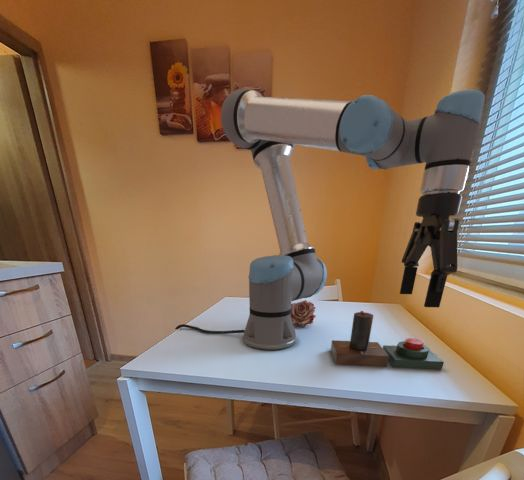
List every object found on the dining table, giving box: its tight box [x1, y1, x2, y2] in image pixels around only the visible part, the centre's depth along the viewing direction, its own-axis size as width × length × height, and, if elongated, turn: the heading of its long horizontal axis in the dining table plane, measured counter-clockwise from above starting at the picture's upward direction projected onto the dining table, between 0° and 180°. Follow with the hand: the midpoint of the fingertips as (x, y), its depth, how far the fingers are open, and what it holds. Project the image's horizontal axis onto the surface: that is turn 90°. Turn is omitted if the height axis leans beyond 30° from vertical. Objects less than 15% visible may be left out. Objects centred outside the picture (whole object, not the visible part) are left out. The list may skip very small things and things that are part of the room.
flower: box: [291, 299, 317, 327], centre depth 95 cm, size 10×9×8 cm
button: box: [404, 337, 425, 350], centre depth 68 cm, size 4×4×2 cm
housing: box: [382, 340, 445, 371], centre depth 69 cm, size 11×9×4 cm
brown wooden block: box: [330, 339, 389, 368], centre depth 70 cm, size 12×9×3 cm
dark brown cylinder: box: [349, 310, 374, 351], centre depth 68 cm, size 4×4×9 cm
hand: (417, 299), depth 64 cm, fingers open, 13 cm apart
